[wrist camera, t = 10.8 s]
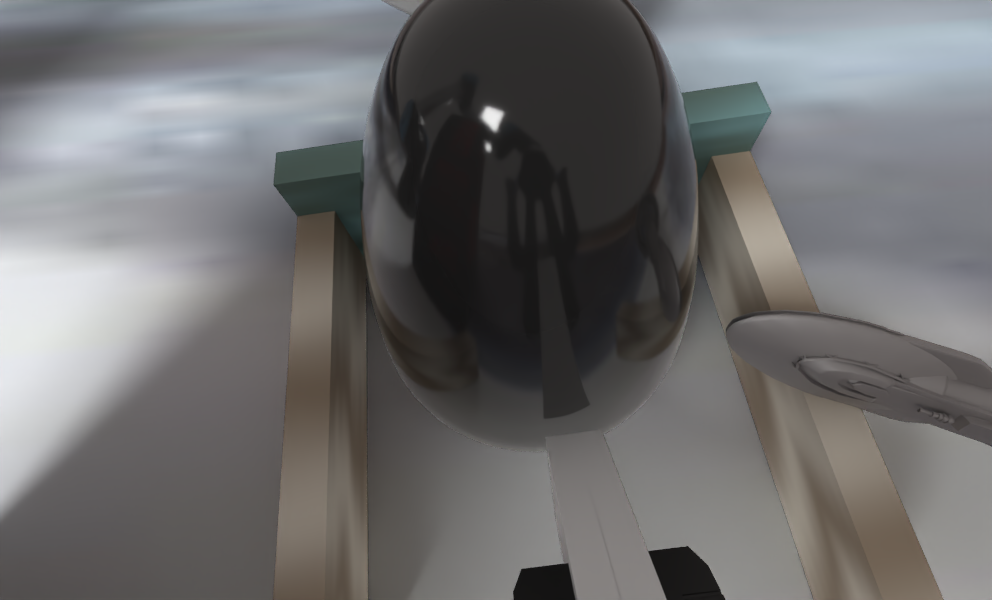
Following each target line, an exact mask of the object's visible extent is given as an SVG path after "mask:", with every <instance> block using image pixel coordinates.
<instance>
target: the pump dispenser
mask: <svg viewBox="0 0 992 600" xmlns="http://www.w3.org/2000/svg"><path fill="white" fill-rule="evenodd" d="M360 217H361V232H362V243H363V253H364V262H365V270H366V276H367V282H368V288H369V293H370V297H371V301H372V306H373V309H374V313H375V316H376V320H377V323H378V326H379V329H380V332H381V335H382V337H383V340H384V343H385V346H386V348H387V351H388V353H389V355H390V358H391V360H392V362H393V364H394V366H395V368H396V370H397V372H398V373H399V375H400V377H401V378H402V380H403V381H404V383H405V384H406V386H407V387H408V389H409V390H410V391H411V393H412V394H413V395H414V396H415V397H416V399H417V400H418V401H419V402H420V403H421V404H422V405H423V406H424V407H425V408H426V409H427V410H428V411H429V412H430V413H431V414H432V415H433V416H434V417H436V418H437V419H438V420H439V421H441V422H442V423H443V424H445V425H446V426H448V427H449V428H451V429H452V430H454V431H456V432H458V433H459V434H461V435H463V436H465V437H468V438H470V439H472V440H474V441H477V442H480V443H483V444H486V445H489V446H492V447H496V448H501V449H506V450H513V451H524V452H542V451H547V446H546V439H545V437H550V436H557V435H565V434H572V433H579V432H587V431H594V430H602V433H603V435H604V434H606V433H608V432H609V431H611V430H613V429H614V428H616V427H618V426H619V425H621V424H622V423H623V422H625V421H626V420H627V419H629V418H630V417H631V416H632V415H633V414H634V413H636V412H637V411H638V410H639V409H640V408H641V407H642V406H643V405H644V404H645V402H646V401H647V400H648V399H649V398H650V397H651V395H652V394H653V393H654V392H655V390H656V389H657V388H658V386H659V385H660V383H661V382H662V380H663V379H664V377H665V375H666V374H667V372H668V370H669V368H670V366H671V364H672V362H673V360H674V358H675V356H676V353H677V351H678V348H679V345H680V343H681V340H682V336H683V333H684V330H685V326H686V323H687V319H688V315H689V311H690V307H691V302H692V297H693V292H694V286H695V279H696V271H697V259H698V240H699V193H698V174H697V164H696V156H695V149H694V143H693V138H692V132H691V127H690V123H689V119H688V115H687V110H686V107H685V103H684V100H683V97H682V94H681V91H680V88H679V85H678V82H677V80H676V77H675V75H674V72H673V70H672V67H671V65H670V63H669V61H668V59H667V57H666V55H665V53H664V50H663V49H662V47H661V45H660V43H659V41H658V39H657V37H656V36H655V34H654V32H653V31H652V29H651V27H650V26H649V24H648V23H647V21H646V20H645V18H644V17H643V16H642V14H641V13H640V12H639V11H638V9H637V8H636V7H635V6H634V5H633V3H632V2H631V1H630V0H424V1H423V2H422V3H421V4H420V5H419V6H418V7H417V8H416V9H415V11H414V12H413V13H412V14H411V16H410V17H409V18H408V20H407V21H406V22H405V24H404V25H403V27H402V29H401V30H400V32H399V33H398V35H397V37H396V39H395V41H394V43H393V45H392V47H391V49H390V51H389V53H388V55H387V58H386V60H385V62H384V65H383V67H382V70H381V73H380V76H379V78H378V81H377V84H376V87H375V90H374V94H373V97H372V100H371V104H370V108H369V112H368V117H367V121H366V127H365V133H364V139H363V147H362V156H361V168H360Z"/></svg>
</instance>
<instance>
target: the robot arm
mask: <svg viewBox="0 0 992 600" xmlns="http://www.w3.org/2000/svg"><path fill="white" fill-rule="evenodd" d="M545 439H546V446H547V454H548V462H549V470H550V478H551V486H552V494H553V501H554V509H555V517H556V523H557V528H558V534H559V539H560V545H561V550H562V556H563V561H564V564H557V565H550V566H542V567H534V568H526V569H521V572H520V575H519V578H518V580H517V583H516V586H515V589H514V591H513V595H514V600H725V598H724V596H723V595H722V594H721V590H720V588H719V586H718V584H717V582H716V580H715V578H714V576H713V574H712V572H711V570H710V568H709V566H708V565H707V564H706V563H705V562H704V561H703V560H702V559H701V558H700V557H699V556H697V555H696V554H695V553H694V552H693V551H692V550H691V549H690V548H689V547H688V546H686V547H678V548H670V549H662V550H655V551H648V550H647V547H646V545H645V542H644V539H643V537H642V534H641V532H640V529H639V526H638V524H637V521H636V519H635V516H634V513H633V511H632V508H631V506H630V503H629V500H628V498H627V495H626V493H625V490H624V487H623V485H622V482H621V480H620V477H619V474H618V472H617V469H616V467H615V464H614V461H613V459H612V456H611V454H610V451H609V448H608V446H607V443H606V441H605V438H604V435H603V433H602V430H594V431H587V432H579V433H572V434H565V435H557V436H550V437H545Z"/></svg>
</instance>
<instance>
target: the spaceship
mask: <svg viewBox="0 0 992 600" xmlns="http://www.w3.org/2000/svg"><path fill="white" fill-rule="evenodd" d="M726 338H727V341H728V344H729V346H730V347H731V349H732V350H733V351H734V352H735V353H736V354H737V355H738V356H740V357H741V358H742V359H743V360H744V361H745V362H747V363H748V364H750V365H752V366H753V367H755V368H756V369H758V370H759V371H761V372H763V373H765V374H766V375H768V376H770V377H772V378H773V379H776V380H778V381H780V382H782V383H784V384H787V385H789V386H791V387H794V388H796V389H799V390H801V391H803V392H806V393H809V394H812V395H815V396H818V397H821V398H826V399H830V400H833V401H836V402H841V403H844V404H847V405H850V406H854V407H857V408H860V409H863V410H866V411H869V412H872V413H875V414H878V415H882V416H885V417H888V418H891V419H895V420H899V421H904V422H913V423H925V424H931V425H934V426H937V427H940V428H942V429H945V430H948V431H951V432H954V433H957V434H960V435H962V436H965V437H968V438H971V439H974V440H977V441H980V442H983V443H985V444H987V445H990V446H992V369H991V368H990V367H989V366H988V365H987V364H986V363H984V362H983V361H982V360H981V359H978V358H976V357H974V356H971V355H969V354H966V353H963V352H960V351H957V350H953V349H950V348H947V347H943V346H940V345H937V344H934V343H930V342H927V341H924V340H920V339H917V338H914V337H911V336H907V335H904V334H901V333H899V332H896V331H893V330H889V329H887V328H885V327H882V326H879V325H876V324H872V323H869V322H865V321H861V320H856V319H851V318H847V317H842V316H836V315H831V314H826V313H818V312H808V311H795V310H771V311H758V312H751V313H748V314H744V315H741V316H739V317H736V318H734V319H732V321H731V322H730V323H729V324H728V326H727V327H726Z"/></svg>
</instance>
